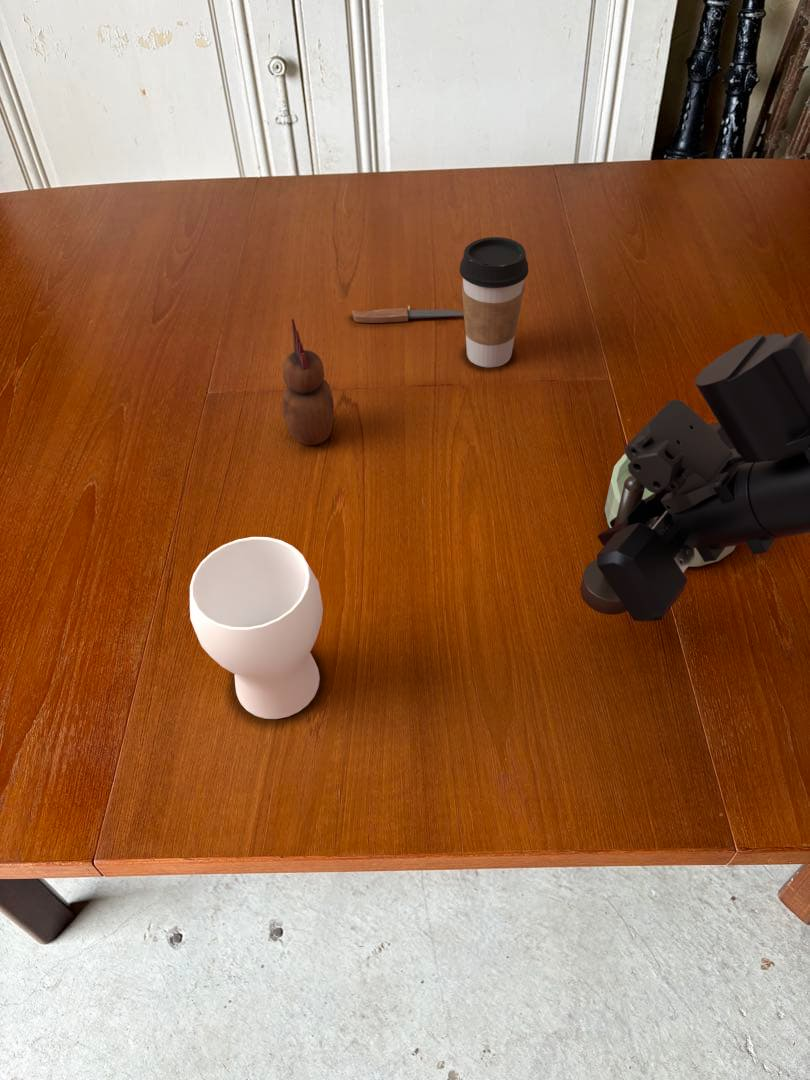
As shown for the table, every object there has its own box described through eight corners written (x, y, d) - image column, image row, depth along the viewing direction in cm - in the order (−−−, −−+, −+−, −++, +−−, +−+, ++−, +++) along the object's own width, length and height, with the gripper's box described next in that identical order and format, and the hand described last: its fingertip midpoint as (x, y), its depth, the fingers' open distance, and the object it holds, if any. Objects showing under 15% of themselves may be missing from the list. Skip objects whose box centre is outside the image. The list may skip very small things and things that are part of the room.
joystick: (636, 619, 71) (669, 504, 60) (578, 610, 72) (601, 496, 61) (637, 575, 74) (669, 459, 64) (582, 567, 75) (605, 452, 65)
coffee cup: (448, 365, 107) (449, 260, 96) (469, 331, 112) (473, 227, 101) (510, 379, 105) (518, 273, 93) (528, 343, 110) (538, 238, 98)
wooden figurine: (292, 416, 101) (274, 310, 90) (338, 416, 101) (326, 310, 89) (285, 453, 96) (265, 346, 85) (333, 453, 96) (320, 346, 85)
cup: (336, 728, 72) (317, 630, 61) (216, 739, 72) (175, 642, 60) (333, 630, 79) (316, 526, 68) (224, 639, 79) (189, 536, 67)
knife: (469, 300, 115) (471, 312, 113) (469, 306, 116) (471, 318, 114) (352, 306, 115) (352, 318, 113) (352, 313, 115) (352, 325, 113)
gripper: (773, 333, 58) (613, 398, 71) (647, 476, 49) (490, 520, 62) (844, 459, 61) (676, 499, 74) (737, 618, 51) (567, 632, 64)
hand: (607, 533), depth 69 cm, fingers closed on joystick
